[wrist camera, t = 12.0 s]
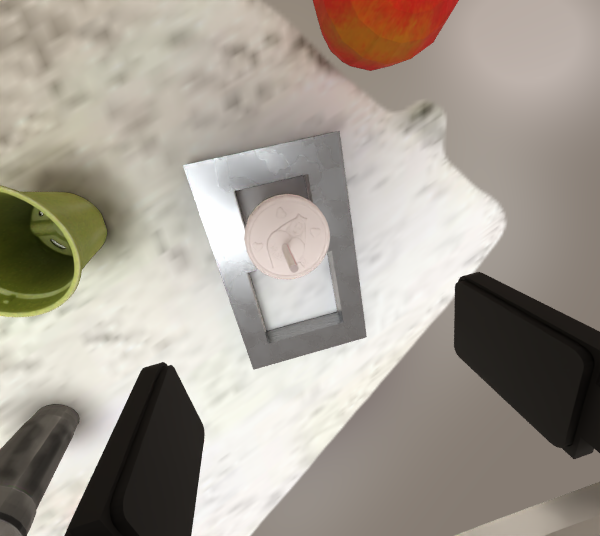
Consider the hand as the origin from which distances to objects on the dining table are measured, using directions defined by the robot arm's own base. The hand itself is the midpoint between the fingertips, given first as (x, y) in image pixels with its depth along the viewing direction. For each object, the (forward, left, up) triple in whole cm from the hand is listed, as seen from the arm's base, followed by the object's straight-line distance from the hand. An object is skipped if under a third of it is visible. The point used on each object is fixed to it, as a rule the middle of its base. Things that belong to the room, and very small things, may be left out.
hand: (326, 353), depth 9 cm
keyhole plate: (+5, +1, -22) cm, 23 cm away
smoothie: (0, +1, -23) cm, 23 cm away
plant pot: (-3, -18, -23) cm, 29 cm away
